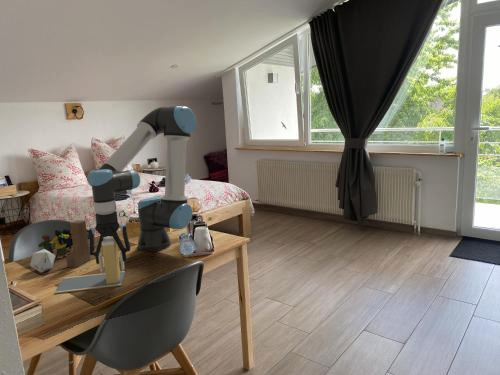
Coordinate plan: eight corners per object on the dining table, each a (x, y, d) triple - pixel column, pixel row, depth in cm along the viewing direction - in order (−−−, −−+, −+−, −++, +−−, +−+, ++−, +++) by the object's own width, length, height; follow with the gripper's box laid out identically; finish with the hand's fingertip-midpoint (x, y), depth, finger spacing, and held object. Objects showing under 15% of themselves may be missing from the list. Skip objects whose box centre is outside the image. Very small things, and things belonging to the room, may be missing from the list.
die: (27, 276, 159) (35, 259, 155) (28, 259, 165) (35, 243, 161) (50, 277, 164) (58, 261, 160) (49, 261, 170) (57, 245, 166)
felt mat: (125, 272, 157) (124, 270, 157) (121, 286, 145) (121, 284, 145) (63, 279, 153) (63, 277, 153) (54, 294, 140) (54, 292, 140)
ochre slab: (120, 273, 155) (116, 234, 151) (118, 282, 147) (113, 241, 144) (109, 275, 154) (105, 235, 151) (106, 284, 146) (101, 242, 143)
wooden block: (75, 268, 163) (69, 226, 160) (67, 266, 165) (61, 225, 161) (90, 259, 172) (85, 220, 168) (82, 259, 173) (77, 219, 170)
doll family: (80, 244, 193) (76, 217, 191) (94, 245, 190) (90, 219, 187) (39, 261, 173) (34, 232, 170) (53, 263, 169) (49, 234, 166)
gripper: (134, 207, 150) (140, 263, 155) (79, 211, 147) (86, 269, 151) (132, 212, 143) (138, 271, 148) (74, 216, 140) (82, 277, 144)
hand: (112, 270), depth 150 cm, fingers open, 7 cm apart
